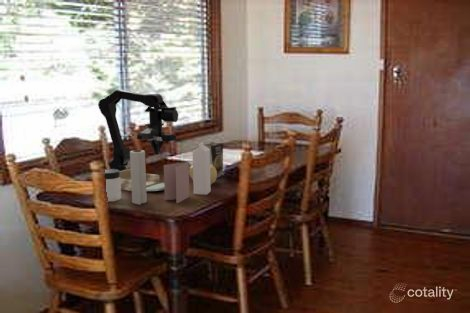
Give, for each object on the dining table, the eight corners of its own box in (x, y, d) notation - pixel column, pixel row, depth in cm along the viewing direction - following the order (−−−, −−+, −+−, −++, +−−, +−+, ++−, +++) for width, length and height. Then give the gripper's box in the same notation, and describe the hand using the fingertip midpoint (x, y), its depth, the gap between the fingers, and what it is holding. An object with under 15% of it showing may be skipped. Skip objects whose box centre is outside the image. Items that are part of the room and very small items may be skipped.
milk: (193, 194, 254) (191, 143, 250) (197, 190, 260) (196, 141, 256) (207, 194, 253) (205, 143, 249) (211, 191, 258) (209, 141, 254)
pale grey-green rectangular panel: (140, 189, 259) (158, 188, 254) (160, 182, 271) (178, 181, 266) (140, 192, 259) (158, 192, 254) (160, 185, 271) (178, 184, 266)
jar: (123, 200, 245) (122, 172, 243) (103, 202, 241) (102, 174, 239) (117, 195, 253) (116, 168, 251) (98, 198, 249) (97, 170, 247)
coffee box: (213, 179, 283) (213, 145, 280) (202, 177, 286) (201, 144, 283) (223, 175, 290) (223, 143, 287) (213, 174, 294) (212, 142, 291)
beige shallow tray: (113, 188, 266) (112, 173, 264) (135, 181, 279) (135, 167, 278) (137, 192, 259) (136, 176, 258) (159, 184, 272) (159, 169, 271)
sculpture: (186, 186, 269) (186, 162, 267) (199, 180, 280) (199, 158, 278) (209, 188, 264) (208, 164, 262) (221, 182, 275) (220, 160, 273)
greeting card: (188, 196, 250) (187, 161, 247) (196, 200, 244) (196, 164, 241) (163, 200, 244) (162, 164, 241) (172, 204, 238) (170, 167, 235)
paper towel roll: (137, 199, 245) (134, 149, 242) (149, 201, 243) (147, 149, 239) (127, 204, 239) (125, 152, 235) (140, 205, 237) (138, 152, 233)
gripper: (128, 122, 270) (130, 156, 273) (161, 124, 261) (162, 159, 264) (143, 119, 280) (145, 152, 283) (176, 121, 271) (177, 155, 273)
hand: (157, 154), depth 275 cm, fingers closed
